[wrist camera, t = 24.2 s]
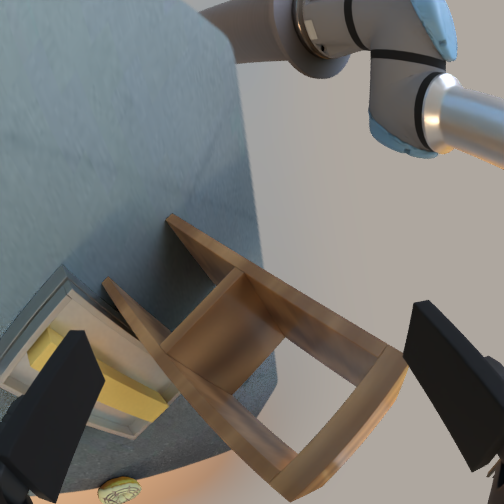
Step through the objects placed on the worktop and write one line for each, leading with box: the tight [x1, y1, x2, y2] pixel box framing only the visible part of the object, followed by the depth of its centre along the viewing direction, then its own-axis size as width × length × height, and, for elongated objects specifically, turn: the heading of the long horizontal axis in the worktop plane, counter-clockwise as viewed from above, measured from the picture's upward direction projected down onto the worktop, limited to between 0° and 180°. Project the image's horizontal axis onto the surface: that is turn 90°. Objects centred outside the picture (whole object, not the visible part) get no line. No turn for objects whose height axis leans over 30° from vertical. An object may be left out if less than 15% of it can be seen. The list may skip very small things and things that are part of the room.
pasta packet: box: [27, 326, 169, 422], centre depth 33 cm, size 22×4×3 cm, turn 27°
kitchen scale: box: [0, 265, 181, 440], centre depth 34 cm, size 26×15×6 cm, turn 28°
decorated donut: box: [98, 476, 141, 504], centre depth 48 cm, size 10×11×4 cm
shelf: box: [102, 214, 409, 502], centre depth 30 cm, size 14×12×30 cm
